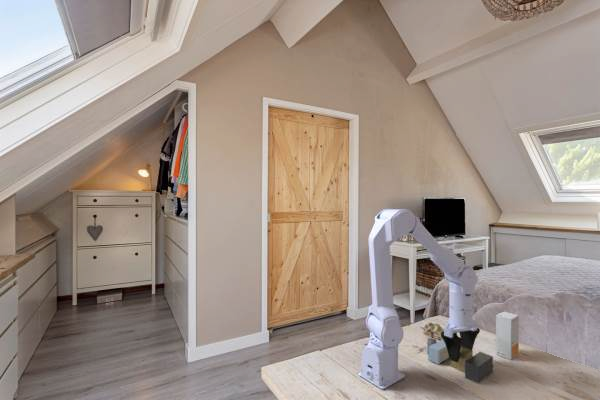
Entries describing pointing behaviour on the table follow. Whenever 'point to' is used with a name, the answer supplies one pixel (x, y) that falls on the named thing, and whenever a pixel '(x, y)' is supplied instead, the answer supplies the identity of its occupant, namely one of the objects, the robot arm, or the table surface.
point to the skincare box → (507, 335)
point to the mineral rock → (433, 331)
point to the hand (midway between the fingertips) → (460, 356)
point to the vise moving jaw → (437, 351)
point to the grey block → (478, 367)
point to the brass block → (462, 359)
